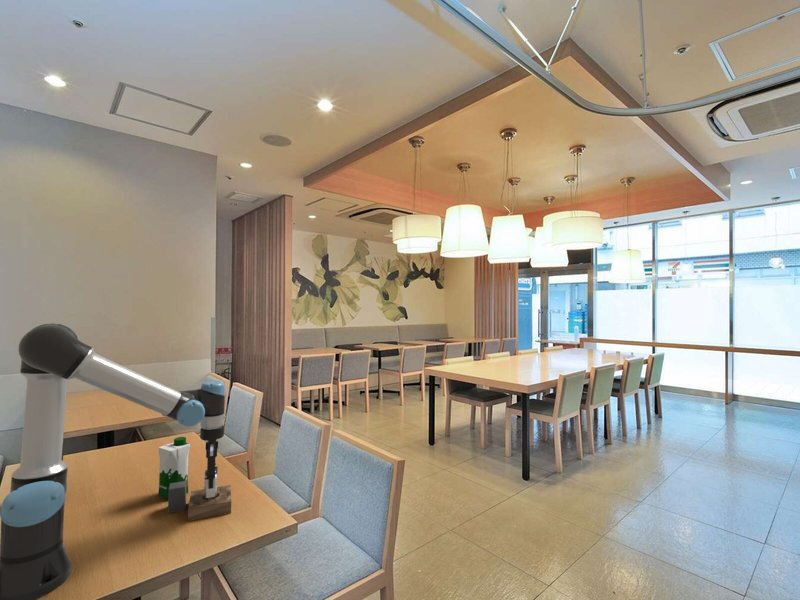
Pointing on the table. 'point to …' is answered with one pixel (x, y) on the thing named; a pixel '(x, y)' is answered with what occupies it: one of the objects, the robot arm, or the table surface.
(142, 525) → the table surface
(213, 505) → the socket block
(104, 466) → the table surface
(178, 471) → the milk carton
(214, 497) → the rod
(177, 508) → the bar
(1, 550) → the robot arm
